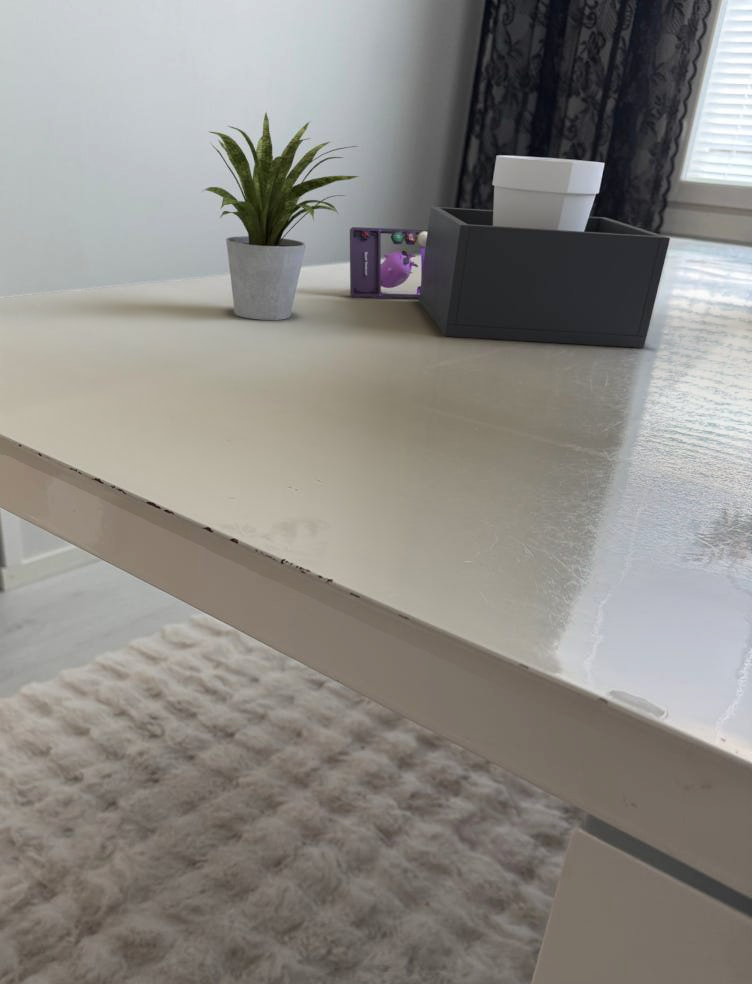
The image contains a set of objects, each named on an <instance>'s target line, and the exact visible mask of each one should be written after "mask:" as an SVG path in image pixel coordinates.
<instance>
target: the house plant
mask: <svg viewBox="0 0 752 984" xmlns="http://www.w3.org/2000/svg"><path fill="white" fill-rule="evenodd" d="M269 120H270V119H269V117H268V115H267V111H266V112H265V113H264V117H263V122H262V123H263V124H262V135H261V137H260V138H259V140H258V141H257V145H256V149H255V146H254V143H253V142H252V139H251V138H250V137H249V135H248V134H247V133H246V132H245V131H244V130H242V129H240V128H239V127H234V126H230V125H227V127H229V128H231V129H233V130H236V131H238V132H239V133H240V134H241V135H242V136H243V138H244V139H245V141H246V142H247V145H248V146H249V149H250V152H251V154H252V157H253V161H254V166H253V171H252V170H251V167H250V163H249V160H248V158H247V157H246V155H245V152H244V151H243V149H242V147H240V145H239V144H238V143H237V141H236V140H234V139H233V138H232V137H230V136H229V135H227V134H225V133H222V132H216V131H206V132H208V133H211V134H215V135H217V136H219V137H220V139H221V140H222V141H221V140H219V139H217V141H218V143H219V144H220V147H221V148H222V149H223V150H224V151H225V152H226V155H227V157H228V160H229V161H230V164H231V165H232V167H233V168H234V170H235V172H236V174H237V175H238V178H239V180H238V178H237V176H236V175H235V173H234V172H233V170H232V168H231V167H230V165H229V164H228V162H227V161H226V160H225V158H224V156H223V155H222V153H221V152H220V150H218V149H217V147H216V146H215V145H213V144H212V143H210V145H211V146H212V147H213V148H214V150H215V151H216V152H217V153H218V154H219V156H220V157H221V158H222V160H223V162H224V163H225V165H226V167H227V168H228V170H229V172H230V173H231V175H232V176H233V178H234V180H235V181H236V183H237V186H238V188H239V190H240V192H241V195H242V197H243V200H244V201H243V200H238V199H237V198H236V197H235V196H234V195H232V194H231V193H230V192H229V191H227V190H226V189H224V188H222V187H218V186H209V187H206V188H205V189H203V190H202V191H201V193H203V192H204V191H207V192H211V193H213V194H216V195H218V196H220V197H221V198H222V202H221V206H220V210H222V209H223V207H224V206H227V205H232V206H233V207H234V208H235V210H236V211H228V210H224V211H222V213H221V214H220V217H219V219H221V218H222V217H223V216H225V215H229V214H233V215H235V216H237V218H239V220H240V221H241V222H242V225H243V226H244V228H245V230H246V232H247V235H246V236H245V235H243V236H242V235H241V236H239V235H238V236H231V237H228V238H226V239H225V242H226V250H227V256H228V257H227V258H228V267H229V275H230V284H231V293H232V301H233V311H234V315H236V316H237V317H241V318H245V319H252V320H260V321H262V320H263V321H278V320H279V321H280V320H285V319H289V318H290V317H291V315H292V311H293V306H294V301H295V297H296V292H297V288H298V283H299V278H300V274H301V268H302V265H303V259H304V255H305V251H306V246H307V244H306V243H305V242H303V241H300V240H297V239H290V238H285V237H286V236H287V235H288V234H289V232H290V231H291V230H292V229H293V228H294V227H295V226H296V225H298V224H299V222H300V221H301V220H303V218H305V217H306V216H307V215H308V214H309V215H310V216H311V217H312V221H313V222H315V210H319V209H320V210H321V209H322V210H328V211H333V212H336V214H337V215H338V216H339V212H338V211H337V209H336V207H335V206H334V205H333V204H332V203H330V202H327V201H325V200H328V199H330V198H333V197H347V195H346V194H344V195H343V194H335V195H330V196H327V197H325V198H323V199H321V200H319V199H318V200H317V199H307V200H304V201H302V202H299V200H300V199H302V196H304V195H305V194H307V193H309V192H311V191H313V190H316V189H320V188H322V187H325V186H327V185H330V184H333V183H335V182H340V181H347V180H352V179H355V178H359V176H358V175H330V176H321V177H317V178H312V179H309V180H306V179H307V177H308V176H309V175H310V174H311V173H312V171H313V170H314V169H316V167H318V166H319V165H320V164H322V163H323V162H326V161H328V160H332V159H344V157H342V156H329V157H326V158H324V159H321V160H320V161H318V162H317V163H316V164H315V165H313V167H312V168H311V169H310V170H309V171H308V173H307V174H306V175H305V176H304V178H303V179H302V181H301V182H300V183H297V184H295V183H296V182H297V181H298V179H299V177H300V175H302V174H303V172H304V171H305V170H306V169H307V167H308V166H309V165H311V163H312V162H314V161H315V160H317V159H319V158H321V157H322V156H323V155H324V156H325V155H326V154H329V153H331V152H334V151H339V150H343V149H349V148H356V147H358V145H353V146H343V147H339V148H335V149H331V150H329V151H326V152H324V153H322V154H320V155H319V156H317V157H316V155H317V154H318V152H319V150H321V149H322V148H324V147H325V146H327V145H329V144H330V143H332V142H334V141H327V142H324V143H320V144H318V145H316V146H314V147H313V148H311V149H310V150H309V151H308V152H306V153H305V154H304V155H303V157H302V158H301V159H300V160H299V161H298V162H297V163H296V164H295V165H294V167H293V168H292V166H293V162H294V159H295V155H296V153H297V151H298V148H299V147H300V145H301V144H302V142H303V141H307V140H311V139H312V138H310V137H309V138H303V139H301V138H302V137H303V135H304V133H305V132H306V131H307V129H308V126H309V124H310V121H308V122H307V123H305V124H304V125H303V126H302V127H301V128H300V129H299V130H298V131H297V133H296V134H295V135H294V136H293V137H292V139H290V141H289V143H288V144H287V145H286V147H285V148H284V150H282V153H281V154H280V155H279V156H276V157H274V156H273V143H272V138H271V133H270V132H271V131H270V121H269ZM315 157H316V158H315ZM291 168H292V169H291ZM251 171H252V172H253V173H252V172H251ZM298 202H299V203H298ZM311 203H316V204H315V205H311V206H310V205H309V204H311ZM319 204H320V205H319ZM321 204H324V205H321ZM301 208H302V209H301ZM299 209H301V210H299ZM294 213H295V214H294ZM302 214H304V215H302ZM300 215H302V216H301V218H299V219H298V220H297V221H296V222H295V223H294V224H293V225H292V226H291V227H290V228H289V230H287V232H286V233H285V234H284V232H285V230H286V229H287V228H288V227H289V226H290V225H291V223H293V221H294V220H295V219H296V218H297V217H299V216H300ZM283 234H284V235H283Z"/></svg>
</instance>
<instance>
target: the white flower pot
mask: <svg viewBox="0 0 752 984" xmlns="http://www.w3.org/2000/svg"><path fill="white" fill-rule="evenodd" d="M605 164H606V163H605V162H600V161H591V160H590V161H589V160H579V159H568V158H557V157H540V156H523V155H522V156H521V155H501V154H499V155H496V156H495V165H494V170H493V178H492V183H491V185H492V186H493V209H492V210H493V226H502V227H518V228H534V229H550V230H566V231H582V232H584V230H585V227H586V224H587V221H588V218H589V217H590V214H591V211H592V208H593V206H594V201H595V198H596V195H597V194H599V193H600V189H601V184H602V178H603V172H604V170H605Z"/></svg>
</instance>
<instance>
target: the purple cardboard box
mask: <svg viewBox="0 0 752 984" xmlns="http://www.w3.org/2000/svg"><path fill="white" fill-rule="evenodd" d="M427 232H428V229H412V228H411V229H410V228H386V227H385V228H384V227H357V226H352V227H351V228H350V229H349V288H350V289H349V293H350V294H349V295H350V297H352V298H382V299H383V298H387V299H388V298H389V299H419V295H420V287H421V285H418V286H417V287H416V288H417V289H416V293H382V288H386V289H392V288H396V287H398V286H400V285H402V284H404V283H405V282H406V281H407V280H408V279H409V277H410V275H411V274H413V273H414V272H413V271H412V268H413V267H415V268H419V265H418V264H417V263H416V262H414V261H412V260H411V259H412V258H416V255H415V254H413V252H409V253H408V251H406V250H395V251H393V252H391V253H389V254H385V253H384V254H383V256H384V257H385V259H384V260H383V261H382V255H381V253H382V252H381V250H382V249H381V248H382V247H381V246H382V245H381V240H382V238H381V237H382V234H388V235H390V240H391V241H392V244H393V245H402V244H403V242H405V245H408V246H414V245H415V244H416V242H417V243H418V245H419V247H420V248H419V250H420V260H421V261H420V262H421V263H420V265H421V267H420V268H421V269H420V271H421V274H420V280H421V279H422V271H423V263H424V255H425V247H426V239H427ZM381 261H382V262H381Z"/></svg>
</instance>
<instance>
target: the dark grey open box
mask: <svg viewBox="0 0 752 984" xmlns="http://www.w3.org/2000/svg"><path fill="white" fill-rule="evenodd" d="M427 225H428V226H427V230H428V232H427V239H426V247H425V255H424V263H423V271H422V279H421V278H420V286H421V287H420V293H419V294H420V295H419V298H418V302H419V304H420V305H421V306H422V307H423V309H424V310H425V311H426V313H427V314H428V316H429V318H431V320H432V321H433V322H434V324H435V325H436V326H437V327H438V329H439V331H440V332H441V333H442V334H443V335H444V336H445V337H451V338H452V337H453V338H467V339H468V338H469V339H470V338H471V339H485V340H503V341H519V342H535V343H536V342H537V343H551V344H552V343H553V344H570V345H587V346H602V347H616V348H617V347H618V348H636V349H644V348H645V345H646V340H647V336H648V332H649V328H650V323H651V319H652V315H653V312H654V307H655V303H656V300H657V299H656V298H657V294H658V290H659V286H660V282H661V278H662V274H663V269H664V266H665V261H666V257H667V253H668V250H669V246H670V240H671V237H669V236H665V235H662V234H659V233H656V232H653V231H649V230H646V229H643V228H641V227H637V226H634V225H631V224H628V223H625V222H621V221H619V220H615V219H613V218H609V217H606V216H605V217H603V216H589V218H588V221H587V224H586V227H585V230H584V232H582V231H566V230H550V229H534V228H518V227H502V226H493V209H492V210H491V209H476V208H461V207H444V206H430V210H429V217H428V223H427Z"/></svg>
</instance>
